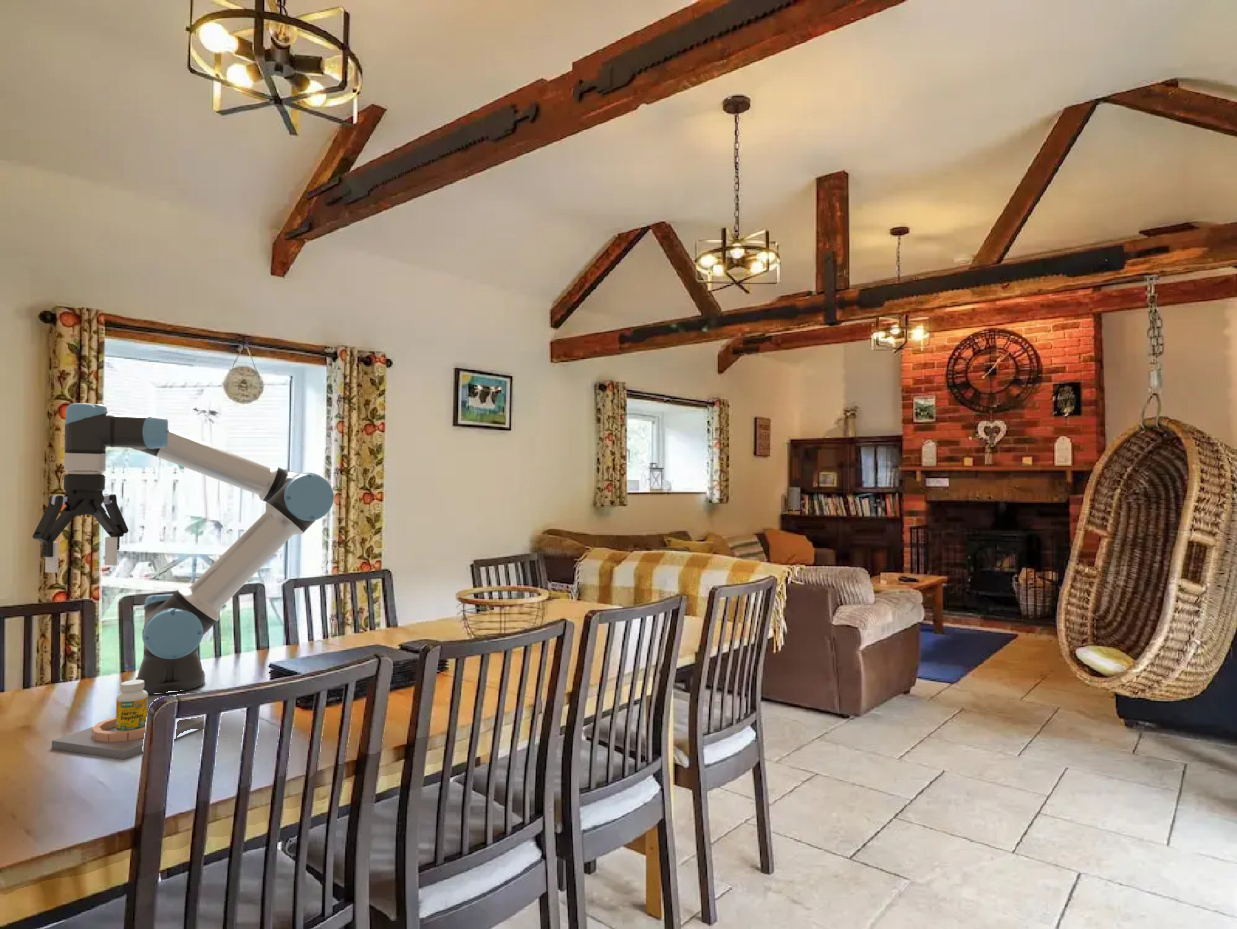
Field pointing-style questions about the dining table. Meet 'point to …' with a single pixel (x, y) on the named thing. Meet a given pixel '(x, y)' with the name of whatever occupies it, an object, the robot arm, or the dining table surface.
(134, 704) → the supplement bottle
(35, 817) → the dining table surface
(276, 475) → the robot arm
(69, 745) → the coaster stand
